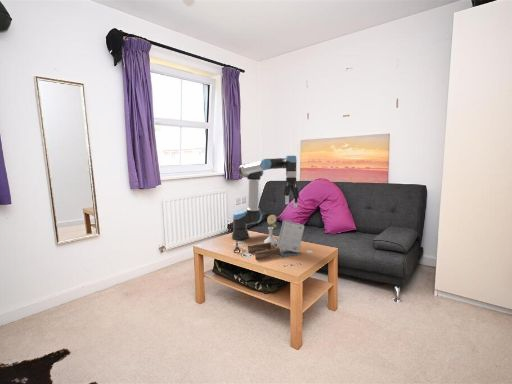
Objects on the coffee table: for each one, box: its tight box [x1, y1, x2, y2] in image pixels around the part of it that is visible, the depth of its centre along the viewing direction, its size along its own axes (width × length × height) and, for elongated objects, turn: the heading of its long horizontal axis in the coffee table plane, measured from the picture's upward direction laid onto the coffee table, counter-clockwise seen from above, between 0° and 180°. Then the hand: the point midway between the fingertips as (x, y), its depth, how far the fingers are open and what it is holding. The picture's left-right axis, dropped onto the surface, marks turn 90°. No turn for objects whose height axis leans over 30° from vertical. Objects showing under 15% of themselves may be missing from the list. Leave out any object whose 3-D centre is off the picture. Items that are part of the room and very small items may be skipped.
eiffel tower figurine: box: [233, 236, 247, 254], centre depth 204 cm, size 15×10×13 cm
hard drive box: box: [276, 219, 306, 253], centre depth 199 cm, size 16×8×20 cm, turn 89°
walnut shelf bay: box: [247, 242, 281, 261], centre depth 198 cm, size 16×18×5 cm
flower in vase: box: [263, 214, 278, 246], centre depth 217 cm, size 13×11×25 cm
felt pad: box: [280, 249, 302, 258], centre depth 199 cm, size 12×14×1 cm
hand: (291, 205), depth 200 cm, fingers open, 13 cm apart
